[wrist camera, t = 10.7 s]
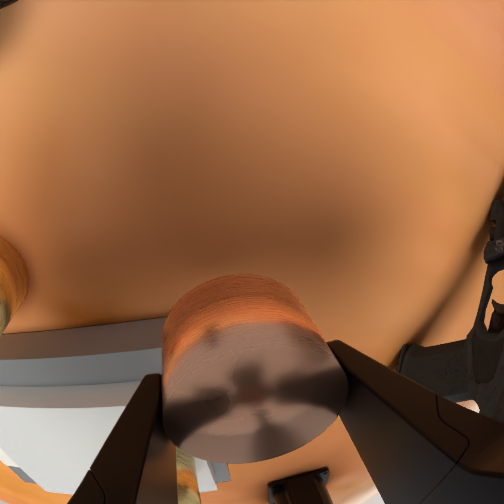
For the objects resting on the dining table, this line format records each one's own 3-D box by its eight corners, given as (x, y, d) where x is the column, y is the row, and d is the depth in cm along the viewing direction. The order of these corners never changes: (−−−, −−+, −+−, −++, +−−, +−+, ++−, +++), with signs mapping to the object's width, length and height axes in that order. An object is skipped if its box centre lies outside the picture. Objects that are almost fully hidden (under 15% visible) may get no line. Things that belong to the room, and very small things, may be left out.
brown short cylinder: (304, 374, 11) (336, 440, 8) (178, 398, 10) (186, 473, 7) (308, 262, 9) (360, 326, 6) (146, 288, 8) (136, 368, 5)
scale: (225, 456, 23) (234, 497, 19) (28, 461, 20) (22, 495, 16) (192, 313, 16) (198, 366, 13) (-63, 337, 13) (-87, 374, 10)
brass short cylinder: (200, 473, 17) (211, 533, 13) (134, 478, 16) (136, 537, 12) (186, 438, 15) (195, 511, 11) (108, 444, 14) (105, 514, 10)
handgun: (382, 395, 21) (519, 451, 10) (438, 186, 23) (567, 167, 12) (399, 397, 22) (527, 446, 11) (451, 198, 24) (573, 185, 13)
